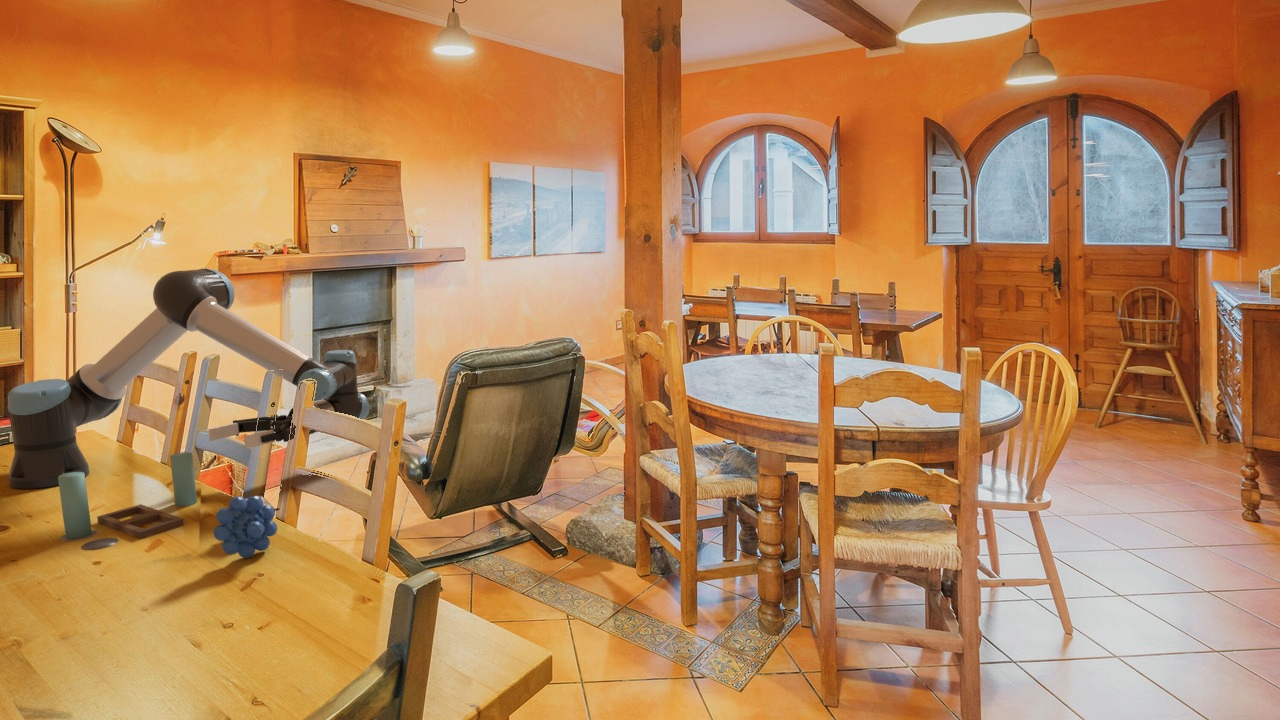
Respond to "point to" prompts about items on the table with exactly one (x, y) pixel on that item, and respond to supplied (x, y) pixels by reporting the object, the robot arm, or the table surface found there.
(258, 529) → the blue flower wheel
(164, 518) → the brown wooden peg holder
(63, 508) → the pin
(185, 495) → the teal pin
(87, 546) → the pattern plate
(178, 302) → the robot arm
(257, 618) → the table surface
